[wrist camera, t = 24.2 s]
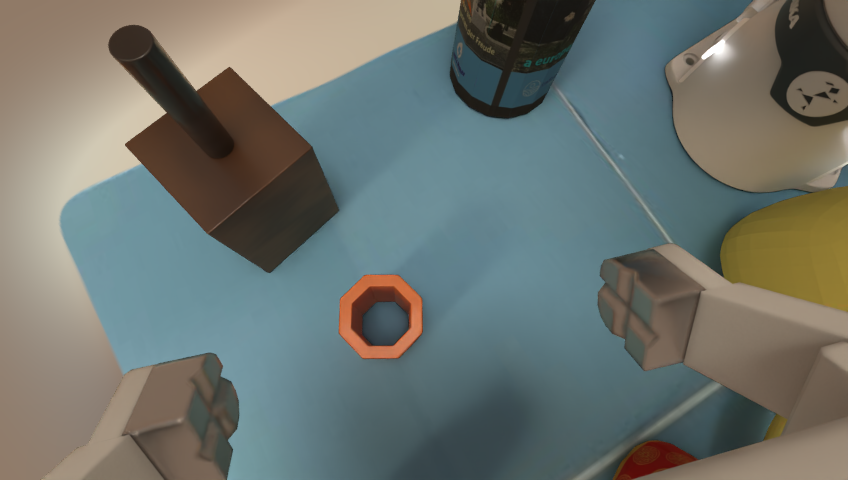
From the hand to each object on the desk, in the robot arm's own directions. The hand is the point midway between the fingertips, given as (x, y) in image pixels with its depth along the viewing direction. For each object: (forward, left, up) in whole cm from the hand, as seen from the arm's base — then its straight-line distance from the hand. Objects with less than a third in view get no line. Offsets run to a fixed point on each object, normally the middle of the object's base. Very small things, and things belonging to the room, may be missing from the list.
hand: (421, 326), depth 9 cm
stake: (0, -17, -27) cm, 32 cm away
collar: (0, -3, -27) cm, 28 cm away
